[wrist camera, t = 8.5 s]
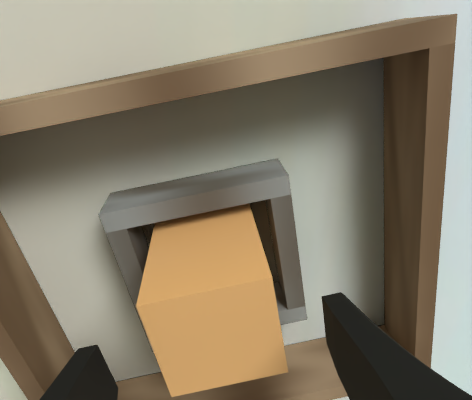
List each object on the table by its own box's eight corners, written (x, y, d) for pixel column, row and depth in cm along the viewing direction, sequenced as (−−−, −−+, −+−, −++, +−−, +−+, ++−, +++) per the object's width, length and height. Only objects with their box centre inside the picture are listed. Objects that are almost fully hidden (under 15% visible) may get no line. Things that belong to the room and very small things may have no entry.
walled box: (83, 399, 20) (65, 456, 17) (-74, 115, 13) (-146, 136, 10) (398, 332, 20) (429, 378, 17) (404, 18, 13) (457, 13, 11)
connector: (179, 284, 17) (171, 397, 12) (157, 212, 16) (135, 306, 10) (259, 267, 17) (288, 372, 12) (246, 194, 16) (272, 277, 10)
